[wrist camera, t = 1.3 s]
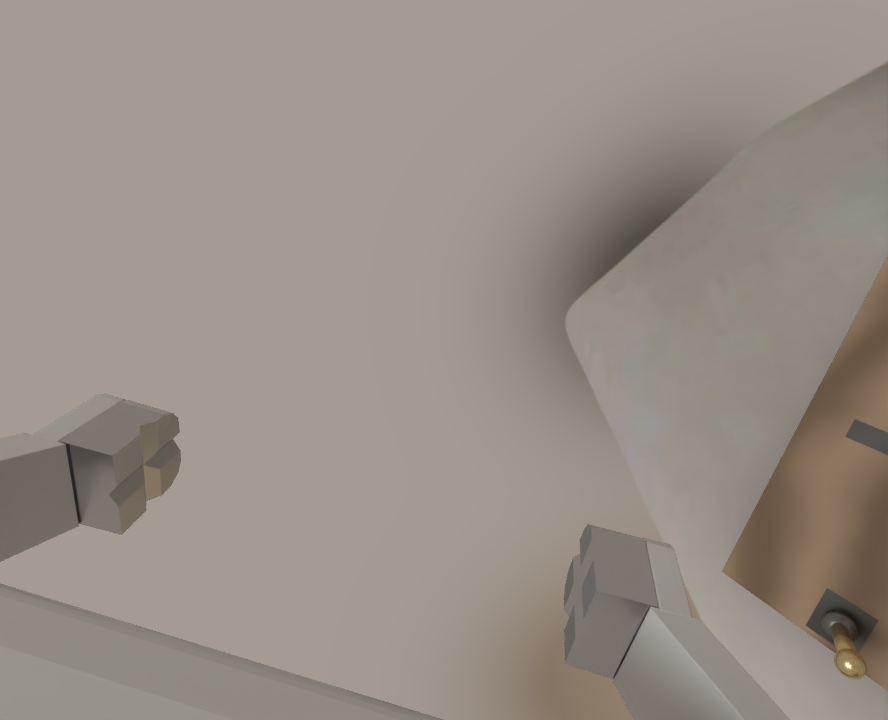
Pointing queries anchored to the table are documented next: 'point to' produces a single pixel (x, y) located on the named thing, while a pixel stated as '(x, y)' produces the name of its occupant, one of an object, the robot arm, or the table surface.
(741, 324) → the table surface
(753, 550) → the panel
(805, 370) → the table surface
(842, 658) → the brass toggle lever
